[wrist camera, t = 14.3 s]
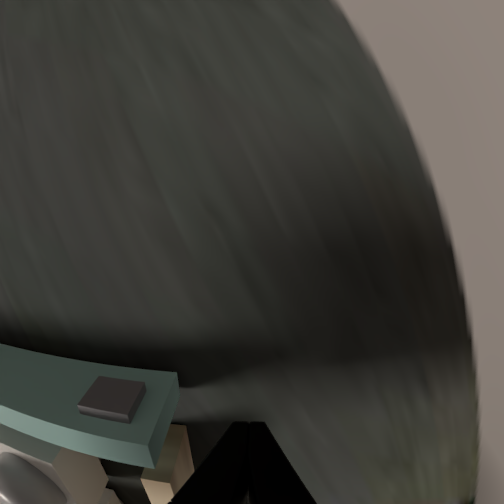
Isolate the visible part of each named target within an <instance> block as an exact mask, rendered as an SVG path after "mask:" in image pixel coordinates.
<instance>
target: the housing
mask: <svg viewBox="0 0 504 504" xmlns="http://www.w3.org/2000/svg"><path fill="white" fill-rule="evenodd" d="M98 459H99V461H100V463H101V458H99V457H98ZM193 473H194V466H193V461H192V455H191V450H190V445H189V439H188V434H187V428H186V426H185V425H175V424H170V426H169V429H168V432H167V435H166V438H165V441H164V444H163V447H162V450H161V453H160V456H159V459H158V461H157V464H156V467H155V469H152V468H146V467H145V468H144V470H143V473H142V476H141V481H142V483H143V486H144V488H145V490H146V493H147V495H148V497H149V500H150V502H151V504H167V503H168V502H171V499H172V498H173V497H174V495H175V494H176V493H177V492H178V491H179V489H180V488H181V487H182V486H183V485H184V484H185V482H186V481H187V480H188V479H189V477H190V476H191V475H192V474H193ZM117 498H118V497H117ZM118 499H119V498H118ZM119 501H120V503H121V504H124V503H123V502H122V501H121V500H120V499H119Z"/></svg>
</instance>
